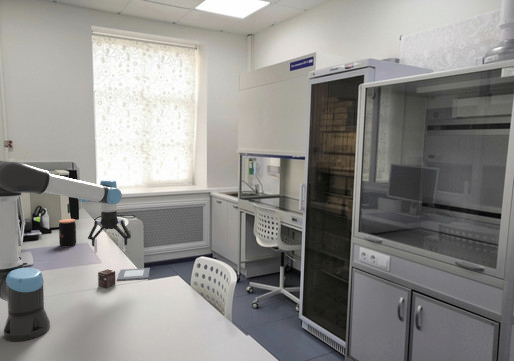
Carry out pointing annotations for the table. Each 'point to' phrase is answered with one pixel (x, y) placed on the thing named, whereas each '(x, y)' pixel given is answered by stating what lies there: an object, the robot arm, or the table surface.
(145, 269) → the mat
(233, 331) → the table surface
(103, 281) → the box
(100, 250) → the table surface
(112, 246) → the table surface
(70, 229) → the coffee jar
